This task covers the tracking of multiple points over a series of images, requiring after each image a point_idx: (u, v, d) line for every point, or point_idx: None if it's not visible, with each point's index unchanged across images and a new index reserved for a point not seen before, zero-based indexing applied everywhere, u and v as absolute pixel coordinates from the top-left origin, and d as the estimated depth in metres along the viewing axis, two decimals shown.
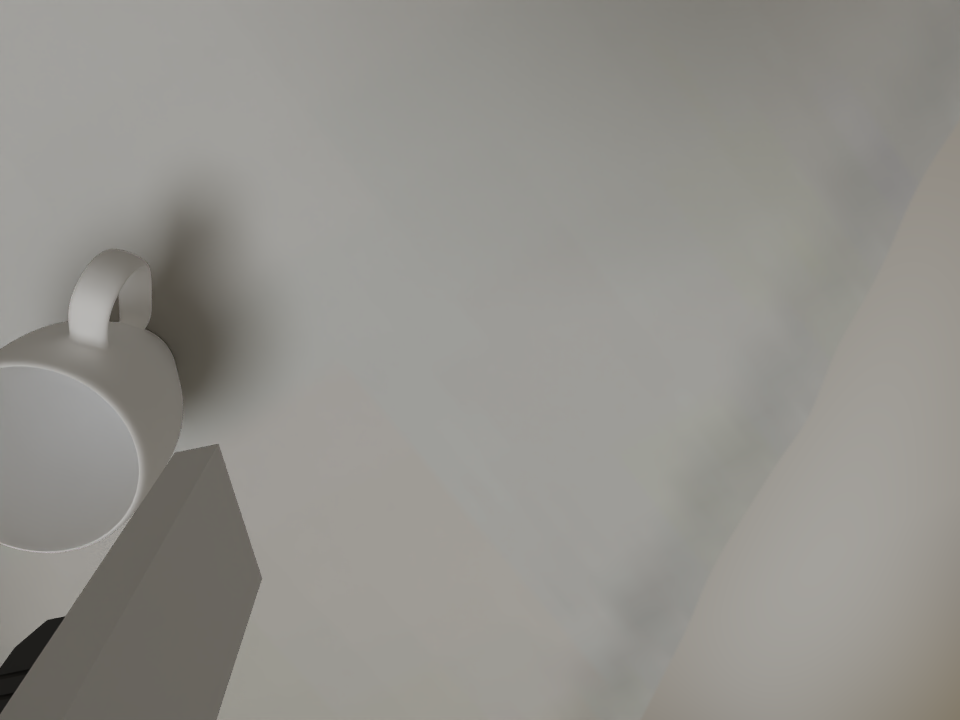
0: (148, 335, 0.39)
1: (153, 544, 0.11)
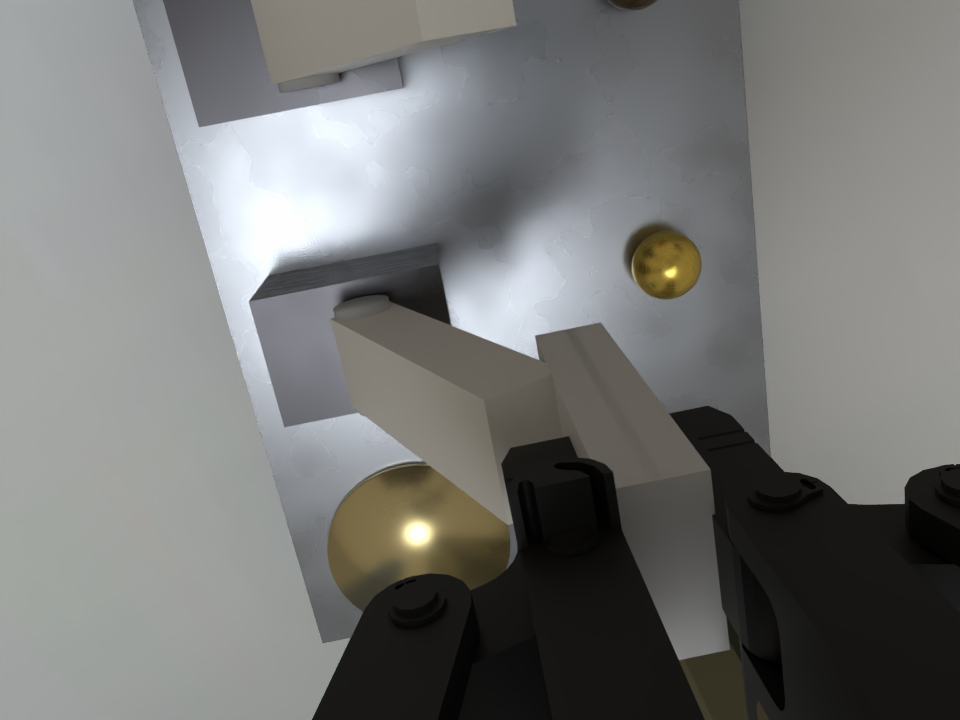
0: None
1: (597, 385, 0.13)
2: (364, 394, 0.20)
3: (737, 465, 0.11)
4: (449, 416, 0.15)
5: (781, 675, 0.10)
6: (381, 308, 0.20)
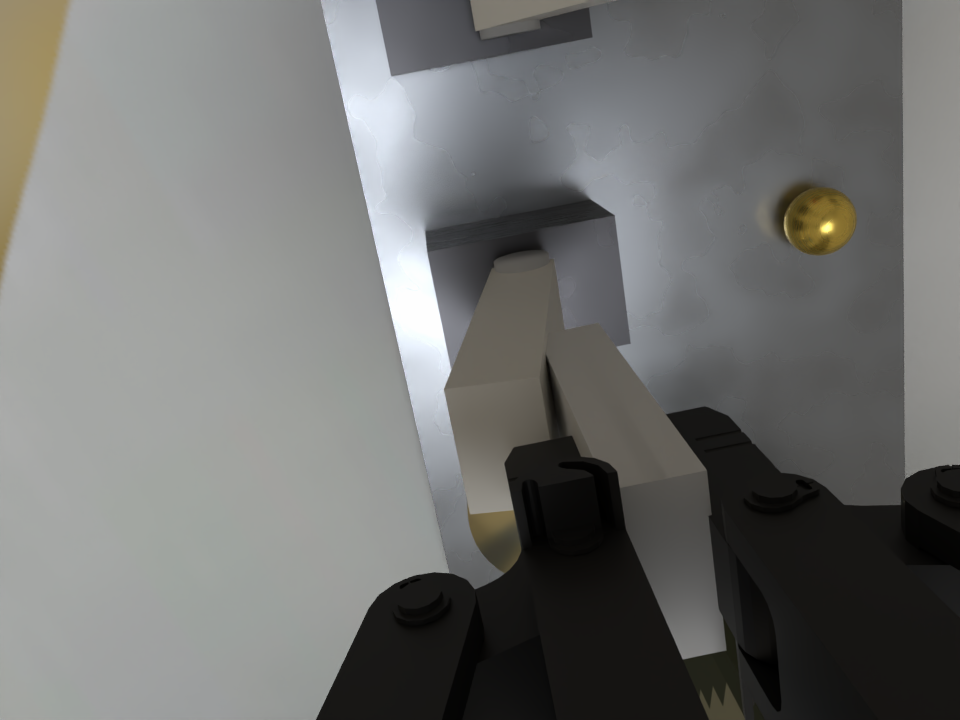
0: None
1: (600, 384, 0.13)
2: None
3: (734, 465, 0.11)
4: None
5: (778, 676, 0.10)
6: (531, 266, 0.20)
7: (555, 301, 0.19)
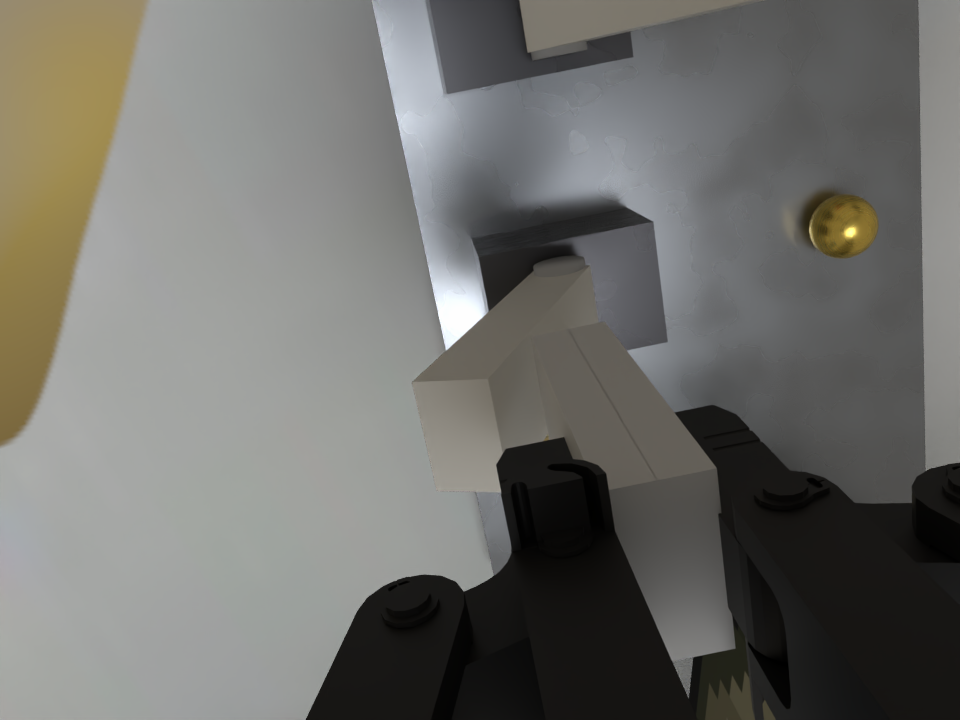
0: None
1: (592, 386, 0.13)
2: None
3: (743, 464, 0.11)
4: None
5: (787, 673, 0.10)
6: (562, 272, 0.22)
7: (576, 306, 0.21)
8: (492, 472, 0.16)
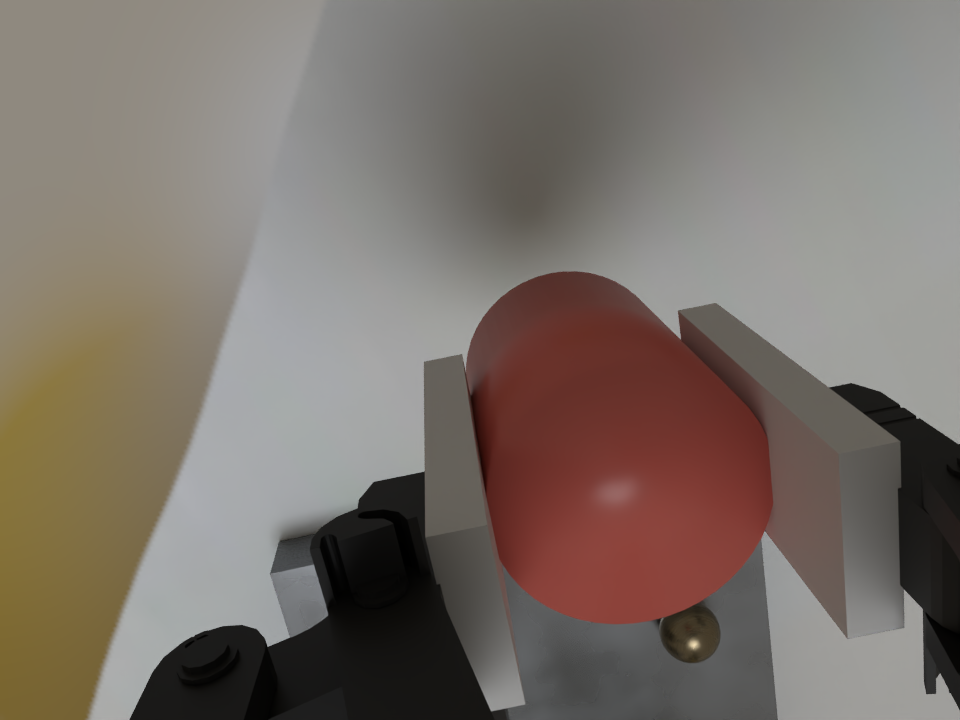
0: None
1: (462, 418, 0.13)
2: None
3: (906, 439, 0.11)
4: None
5: None
6: None
7: None
8: None
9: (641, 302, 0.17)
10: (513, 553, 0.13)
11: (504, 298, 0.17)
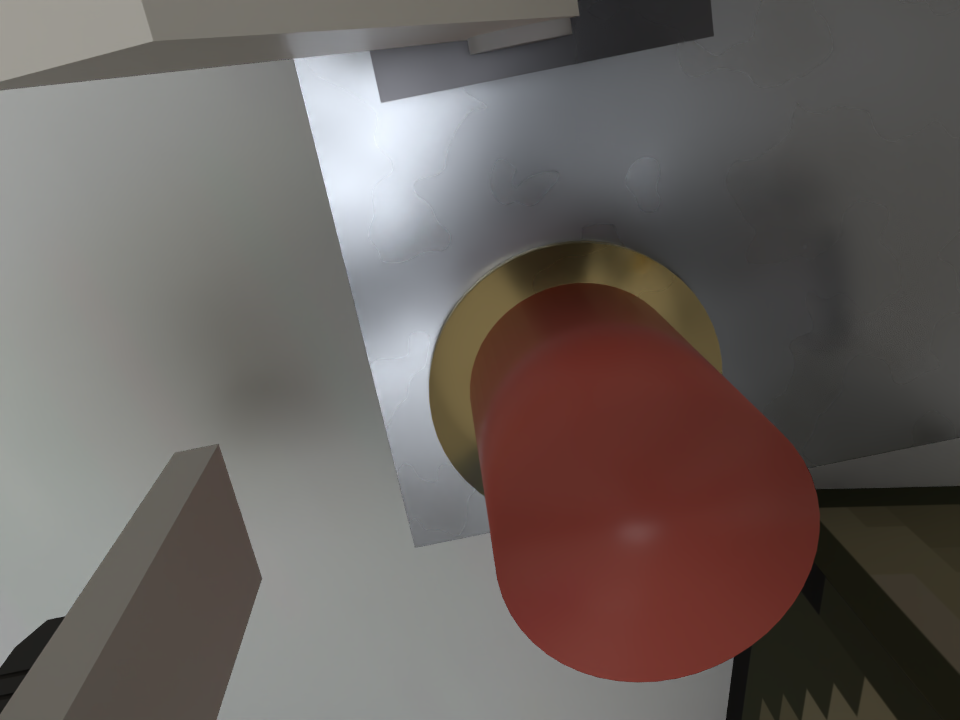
0: None
1: (153, 544, 0.11)
2: None
3: None
4: None
5: None
6: None
7: None
8: None
9: (661, 317, 0.15)
10: (525, 605, 0.11)
11: (512, 313, 0.16)
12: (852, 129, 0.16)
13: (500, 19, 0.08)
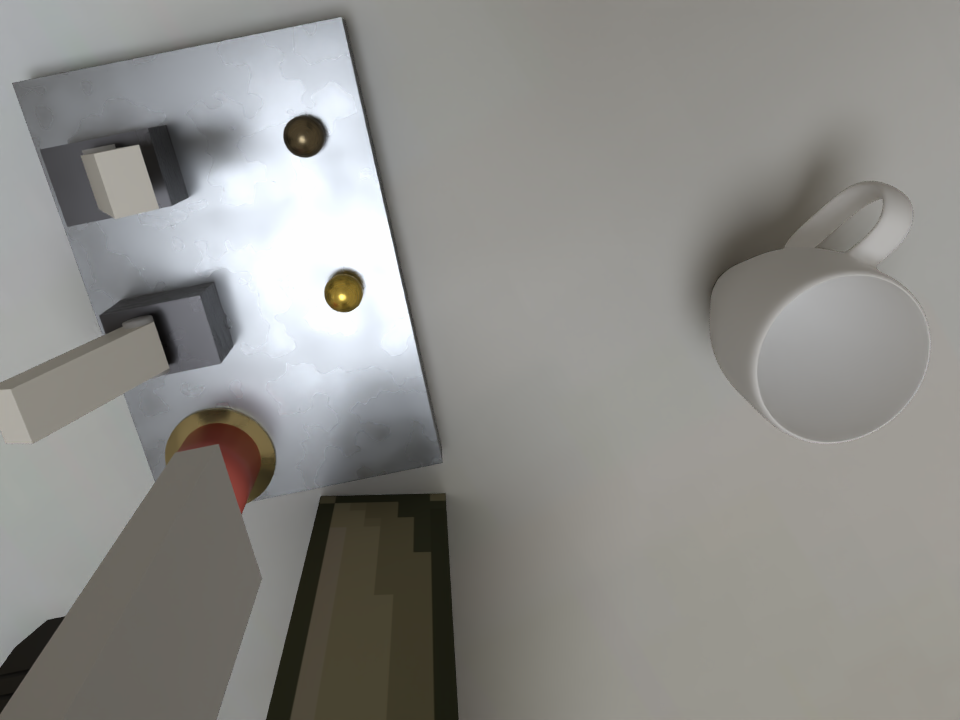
0: None
1: (153, 544, 0.11)
2: None
3: None
4: None
5: None
6: (132, 326, 0.39)
7: (130, 346, 0.38)
8: (23, 434, 0.33)
9: (237, 437, 0.44)
10: None
11: (190, 434, 0.45)
12: (308, 370, 0.45)
13: (123, 393, 0.37)
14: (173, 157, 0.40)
